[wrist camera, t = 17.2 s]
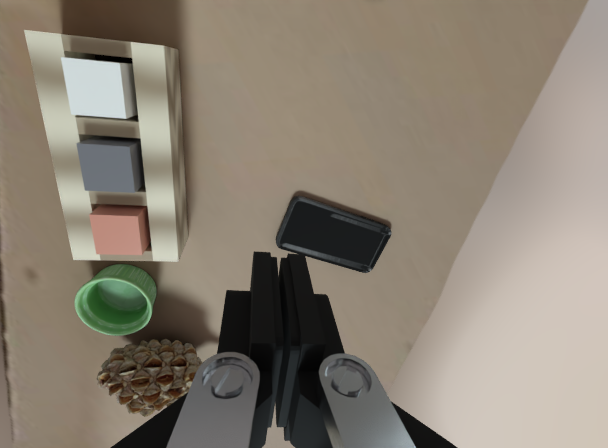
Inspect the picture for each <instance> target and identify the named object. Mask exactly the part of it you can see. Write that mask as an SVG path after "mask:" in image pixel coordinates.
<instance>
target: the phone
mask: <svg viewBox="0 0 608 448" xmlns="http://www.w3.org/2000/svg"><path fill="white" fill-rule="evenodd" d="M390 236H391V230H390V229H389V227H388V226H387V225H384V224H381V223H379V222H376V221H374V220H371V219H367V218H366V217H363V216H358V215H355V214H352V213H349V212H346V211H343V210H341V209H338V208H335V207H332V206H329V205H326V204H323V203H320V202H317V201H314V200H311V199H308V198H305V197H303V196H296V197H294V198H293V199H292V200H291V202H290V204H289V207H288V209H287V212H286V214H285V217H284V219H283V222H282V224H281V227H280V229H279V231H278V234H277V236H276V244H277V246H278V247H279V248H281V249H283V250H287V251H290V252H294V253H297V254H300V255H305V256H307V257H311V258H314V259H318V260H321V261H325V262H328V263H331V264H335V265H338V266H342V267H345V268H349V269H352V270H356V271H359V272H362V273H368V272H370V271H371V270H372V269H373V268H374V266H375V264H376V262H377V260H378V258H379V257H380V255H381V253H382V251H383V249H384V247H385V245H386V244H387V242H388V240H389V238H390Z"/></svg>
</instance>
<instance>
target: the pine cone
mask: <svg viewBox="0 0 608 448" xmlns="http://www.w3.org/2000/svg"><path fill="white" fill-rule="evenodd" d="M201 364H202V361H201V359H200V358H199V357H197V354H196V351H195V348H194V347H193V345H192V344H190V343H186V344H185V345H184V346H183V345H182V343H181V342H180V341H178V340H176V341H174V342H173V343H172V344H171V342H170V341H169V340H167V339H164V340H162V341H161V342H159V341H158V340H153V339H152V340H151V341H150V342H149V343H148V342H146V341H143V340H142V341H141V342H140V344H139V345H138V346H136V345H133V344H130V345H126V346H125V347H124V348H115V349H113V351H112V352H111V356H110V357H109V359H108V360H106V361H105V362H104V363H103V364H102V366H101V367H102V369H103V370H102V371H100V372H99V374H98V376H97V380H98V387H99V388H106V389H109V395H110V396H111V395H114V394H115V395H116V396H117V403H120V404H121V405H122V404H127V405H126V407H127V410H128V412H129V413H133V414H135V413H139V412H140V414H141V415H143V416H144V417H145V416H146V417H147V416H148V415H151V414H152V413H153V412H154V411H155V410H158V411H159V410H161V409H162V408H163V407H164V406H165V405H167V407H168V406H169V405H171V404H172V403H173V402H175V401H176V400H178V399H179V398H180V397H182V396H183V395H185V394H186V393H187V392H189V389H190V387H191V384H192V382H193V379H194V377H195V374H196V372H197V370H198V368H199V367H200V365H201Z"/></svg>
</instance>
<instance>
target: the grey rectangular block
mask: <svg viewBox="0 0 608 448" xmlns="http://www.w3.org/2000/svg"><path fill="white" fill-rule="evenodd" d="M76 144H77V150H78V155H79V161H80V166H81V172H82V177H83V183H84V189H85V191H105V192H127V193H135V192H136V191H137V190H138V189H139V188H140V187H141V186H142V185H143V184H144V183H145V177H144V167H143V158H142V148H141V138H128V137H114V136H99V135H96V136H93V137H91V138H88V139H86V140H83V141H81V142H78V143H76Z"/></svg>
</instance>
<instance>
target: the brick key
mask: <svg viewBox="0 0 608 448" xmlns="http://www.w3.org/2000/svg"><path fill="white" fill-rule="evenodd" d="M89 216H90V222H91V227H92V233H93V238H94V244H95V250H96V254H107V255H143V253H144V251H145V250H146V248H147V247H148V245H149V243H150V242H151V236H150V226H149V216H148V206H141V205H116V204H101V205H100V206H99V207H98V208H96V209H95V210H94V211H93V212H92V213H90V214H89Z"/></svg>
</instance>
